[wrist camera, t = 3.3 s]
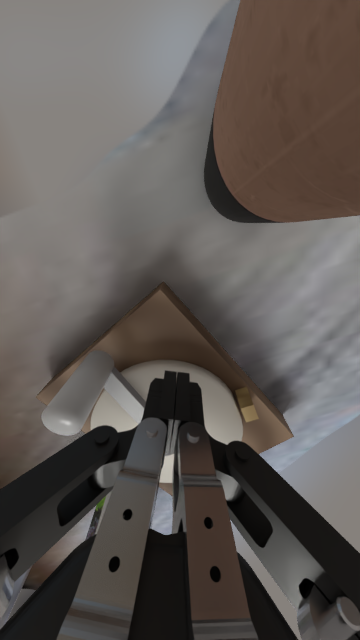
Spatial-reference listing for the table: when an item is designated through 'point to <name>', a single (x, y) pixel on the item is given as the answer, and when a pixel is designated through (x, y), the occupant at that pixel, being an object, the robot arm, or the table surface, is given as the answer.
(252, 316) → the table surface
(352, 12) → the travel mug
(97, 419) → the dial
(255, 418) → the dial stand
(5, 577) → the robot arm
